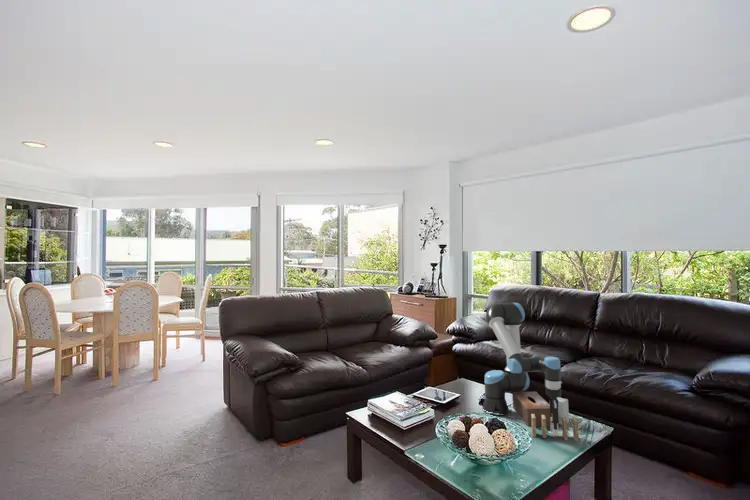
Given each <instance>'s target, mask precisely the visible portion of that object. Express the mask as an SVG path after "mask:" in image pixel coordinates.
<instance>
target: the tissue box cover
mask: <svg viewBox="0 0 750 500" xmlns="http://www.w3.org/2000/svg"><path fill="white" fill-rule="evenodd" d="M511 395H512V409H513V410H514V411H515V413H516V414H517V415H518V416H519V417H520V419H521V420H522V421H523V423H524V424H525V425H526V427H532V419H531V414H535V418H536V427H542V417H541V415H545V417H546V427H551V419H550V417H551V416H550V404H549V403H548V401H547V400H546V399H544V398H543V397H542V396H541V395H540V394H539V393H538V392H537V391H521V392H511Z"/></svg>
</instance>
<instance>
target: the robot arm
mask: <svg viewBox="0 0 750 500" xmlns="http://www.w3.org/2000/svg"><path fill="white" fill-rule="evenodd" d="M525 318H526V313H525V309H524V308H523V306H522V304H520V303H519V302H502V303H500V302H499V303H494V304H492V305H490V306H489V307H488V308H487V310H486V314H485V319H486V323H487V326H488V327H489V328H490V329H492V331H493V333H494V334H495V336H496V338H497V340H498V343H499V344H500V346H501V348H502V350H503V351H504V354H505V355H506V366H505V368H504V370H500V369H499V370H498V369H497V370H496V369H492V370H489V371H486V372H485V374H484V400H483V403H482V410H483V409H484V410H486V411H488V412H493V413H499V414H506V415H507V414H509V412H510V411H509V409H510V408H509V406H508V403H507V401H506V394H507V393H512V392H526V391H527V390H528V389H529V387H530V383H531V382H530V380H531V379H530V376H529V374H528V373H535V372H542V373H544V386H545V387H544V390H545V395H546V396H547V397H548V401H549V403H548V404H550V416H551V417H550V419H551V426H550V431H552V436H554V435H557V436H556V437H559V424H558V423H559V420H558V400H557V397H560V398H561V397H562V389H561V388H562V384H563V382H562V381H561V377H562V376H561V374H562V373H561V372H562V371H561V361H560V358H559V357H555V356H546V357H545V356H542V355H539V354H533V355H532V356H531V357H524V356H523V354H522V351H521V350H522V349H521V335H520V326H522V322H523V321H525ZM552 420H553V421H552Z"/></svg>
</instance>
